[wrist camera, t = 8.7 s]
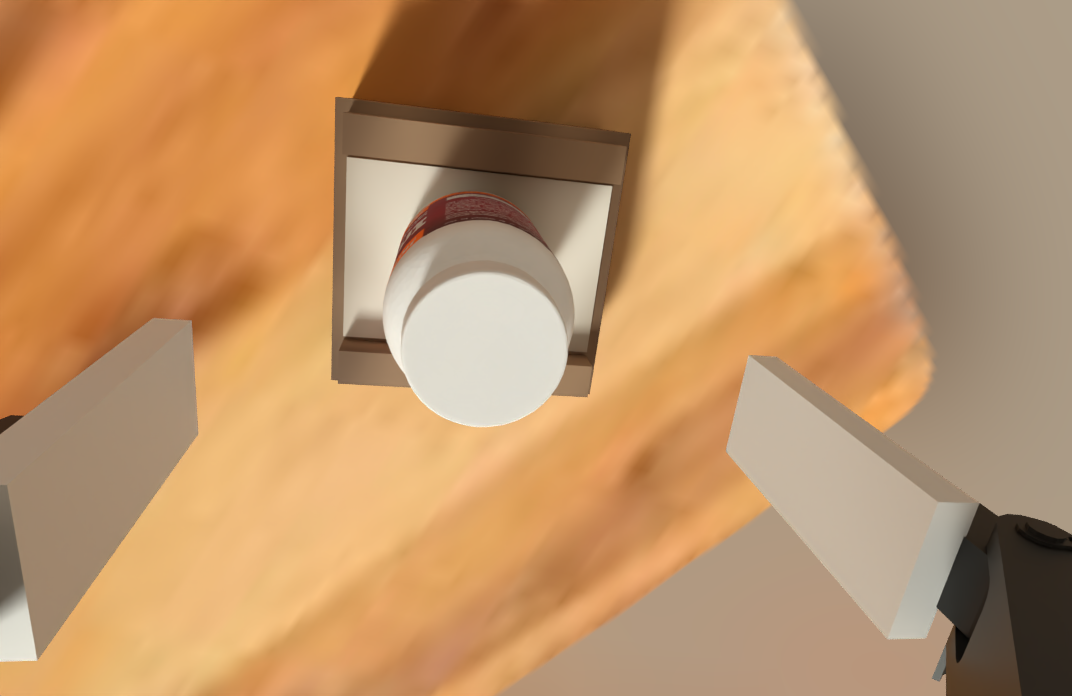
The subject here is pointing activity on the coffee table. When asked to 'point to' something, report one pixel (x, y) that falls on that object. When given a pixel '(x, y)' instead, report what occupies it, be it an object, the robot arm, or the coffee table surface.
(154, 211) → the coffee table surface
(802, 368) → the coffee table surface
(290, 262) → the coffee table surface
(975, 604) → the robot arm
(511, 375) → the pill bottle
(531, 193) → the brown square open box
